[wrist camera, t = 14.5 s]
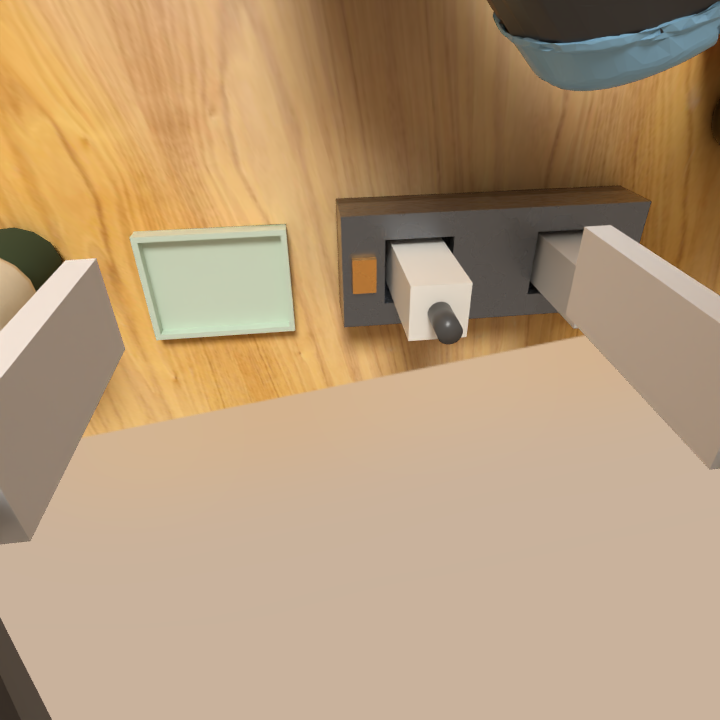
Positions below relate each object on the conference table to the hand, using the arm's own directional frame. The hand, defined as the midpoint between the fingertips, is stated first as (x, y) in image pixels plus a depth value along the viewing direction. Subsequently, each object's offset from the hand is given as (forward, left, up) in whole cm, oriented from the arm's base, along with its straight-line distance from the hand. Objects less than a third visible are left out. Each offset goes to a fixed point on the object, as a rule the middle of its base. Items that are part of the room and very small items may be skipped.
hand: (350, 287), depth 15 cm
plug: (+12, +8, -31) cm, 34 cm away
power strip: (+12, +15, -33) cm, 38 cm away
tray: (+14, -9, -33) cm, 37 cm away
